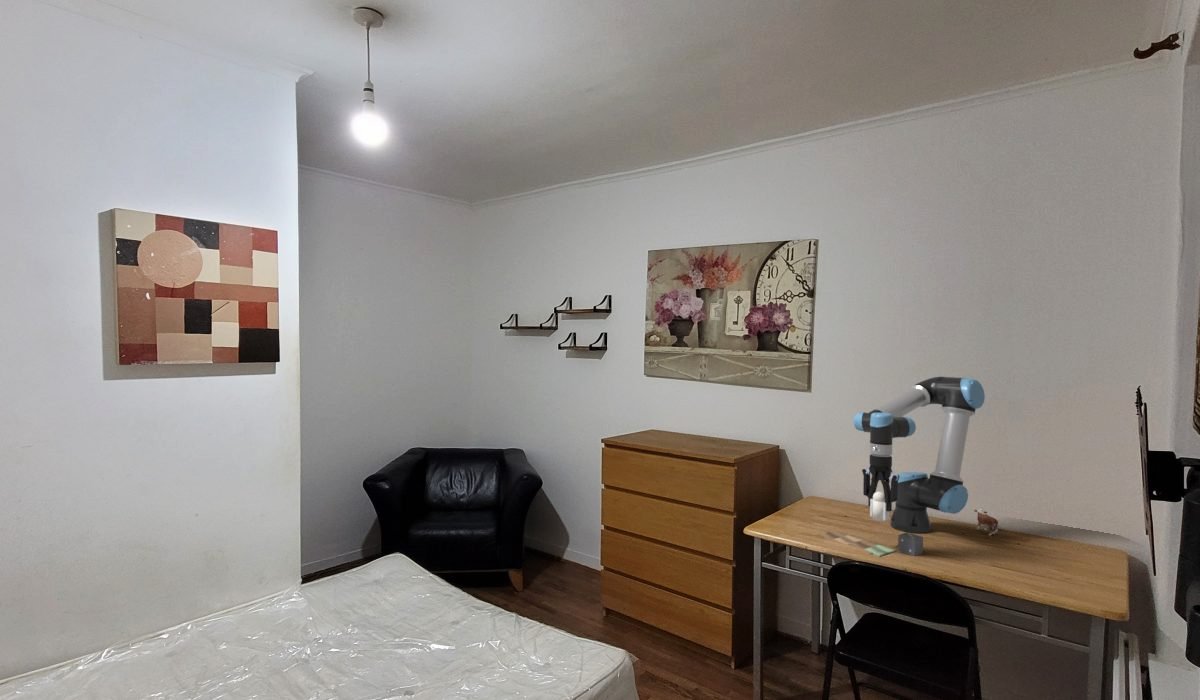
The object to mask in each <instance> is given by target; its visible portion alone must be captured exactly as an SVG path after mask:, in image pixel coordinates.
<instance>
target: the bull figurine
mask: <svg viewBox="0 0 1200 700" xmlns="http://www.w3.org/2000/svg"><path fill="white" fill-rule="evenodd" d="M974 512H975V513H977V523H978V524H977V528H976V530H977V531H980V530H981V525H982V526H984V528H983V529H984V531H985V532H987V531H988V530H989V534H988V536H992V535H995V534H996V533H997V532H998V526H999V521H998V519H996V518H995V517H993V516H990V515H988V511H986V510H983V509H982V508H978V509H974Z"/></svg>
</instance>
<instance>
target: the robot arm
mask: <svg viewBox="0 0 1200 700" xmlns="http://www.w3.org/2000/svg"><path fill="white" fill-rule="evenodd" d="M985 395H986V394H985V390H984V387H983V386H982V383H980V381H978V380H977V379H974V378H968V377H953V376H951V377H950V376H934V377H931V378H927V379H924V380H922V381H919V382H917V383H915V384H914V385H911V386H910V387H909V388H908V391H906V392H904V393H902V394H900V395H899V396H897V397H895V398H893V399H891V400H889V401H888V402H886V403H884V404H882V405H880V406H878V407H877V408H875V409H873V410H871V411H870V412H865V411H863V412H858V413H856V414H855V416H854V417H853V427H854V428H855V429H856V430H857V431H860V432H864V433H870V434H869V439H870V440H869V467H868V468H862V470H861V472H862V475H863V486H862V487H863V492H862V493H863V495H864V496H865V497H867V498H868V500H867V501H868V502H867V503H868V504H867V505H868V507H869V517H872V508H873V494H874V493H875V492H877V488H878V484H879V482H880V483H881V484H882V489H883V490H882V491H883V493H884V495H885V500H886V501H884V504H883V520H886V521H888V520H890V524H889V525H890V527H892V528H894V529H896V530H899V531H902V532H905V533H911V534H914V533H915V534H927V533H930V532H931V531H932V523H931V520H930V518H929V514H928V512H927V511H928V509H931V510H935V511H939V512H941V513H946V514H958V513H960V512H961V511H962V510H963V509H964V508H965V507H966V505H967V503H968V500H969V493H968V489H967V488H966V487H965V486H964V485H963V484H964V480H963V479H962V477H961V476H960V475H961V472H962V471H961V470H962V464H963V460H964V459H963V458H964V453H965V446H966V441H967V435H968V429H969V424H970V418H971V417H972V416H974V415H975V414H976V409H977V410H978V409H980V408H981V407H983V405H984V404H985V399H986V398H985V397H986V396H985ZM928 405H940V406H941V409H942V411H944V417H943V422H942V423H943V424H942V429H941V436H940V441H939V446H938V453H937V459H936V463H935V467H934V468H935V469H934V471H932V472H931V473H929V477H928V473H926V472H921V471H920V472H919V471H908V472H907V471H906V472H898V473H897V474H895V472H893V469H892V467H893V457H892V455H893V439H894V438H907V437H911V436H913V435H914V434H915V433H916V429H917V426H916V422H915V421H914V420H913V418H912V417H909V416H905V415H907V414H909V413H911V412H913V411H915V410H917V408H920V407H922V408H923V407H927V406H928ZM893 503H895V504H894V505H895V507H894V510H893V513H892V516H891V518H890V515H891V514H890V512H892V508H893Z"/></svg>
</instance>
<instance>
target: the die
mask: <svg viewBox="0 0 1200 700" xmlns="http://www.w3.org/2000/svg"><path fill="white" fill-rule="evenodd" d="M897 541H898V544H897V545H898V547H897V552H900V553H902V554H903V553H904V554H908V555H910V556H913V557H916V556H917V555H921V554H923V553H924V536H922V535H918V534H916V533H915V534H914V533H912V532H904V533H902V534H901V533H900V534H898V539H897Z"/></svg>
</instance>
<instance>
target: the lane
mask: <svg viewBox="0 0 1200 700" xmlns="http://www.w3.org/2000/svg"><path fill="white" fill-rule="evenodd" d="M818 536H821V537H824V538H827V539H830V540H832V541H836V542H839V543H842V544H845V545H848V546H851V547H854V548H857V549H859V550H862V551H866V552H869V553H870V554H871V555H874V556H877V557H883V556H887V555H889V554H893V553H895V552H896V549H894V548H891V547H887V546H883V545H881V544H877V543H874V542H872V541H869V540H865V539H862V538H859V537H856V536H852V535H850V534H847V533H843V532H839V531H836V530H832V531H828V532H824V533H821V534H818Z"/></svg>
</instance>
